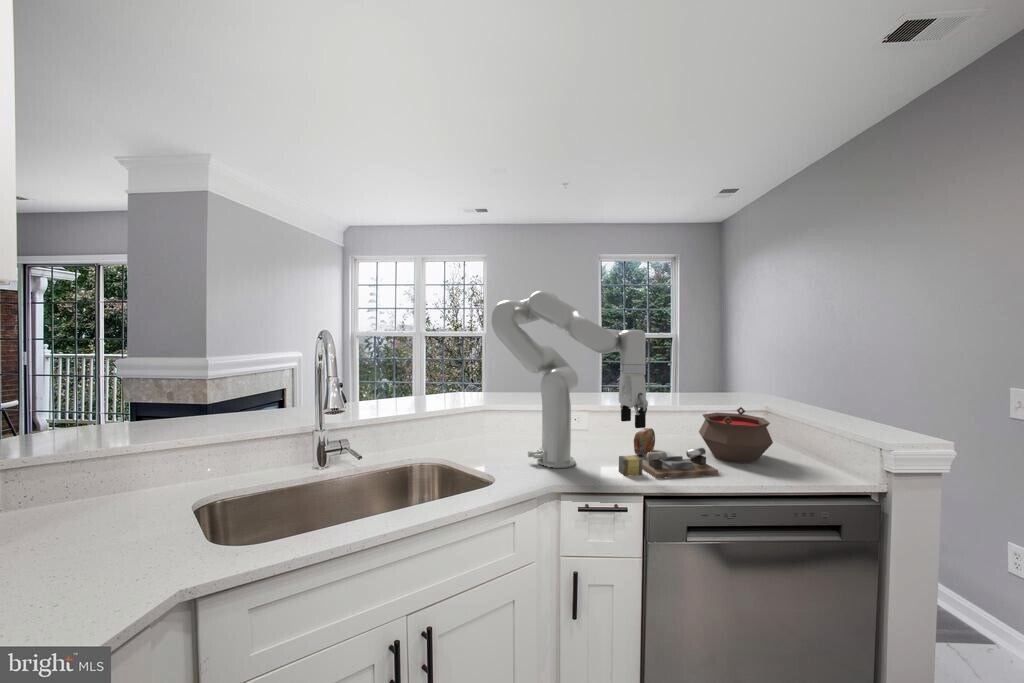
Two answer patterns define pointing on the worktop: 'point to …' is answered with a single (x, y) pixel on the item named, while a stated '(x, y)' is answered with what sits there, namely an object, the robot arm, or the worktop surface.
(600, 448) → the worktop surface
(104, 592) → the worktop surface
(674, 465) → the rig
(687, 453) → the shaft
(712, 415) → the brown cooking pot
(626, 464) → the coupler
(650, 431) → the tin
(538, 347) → the robot arm
